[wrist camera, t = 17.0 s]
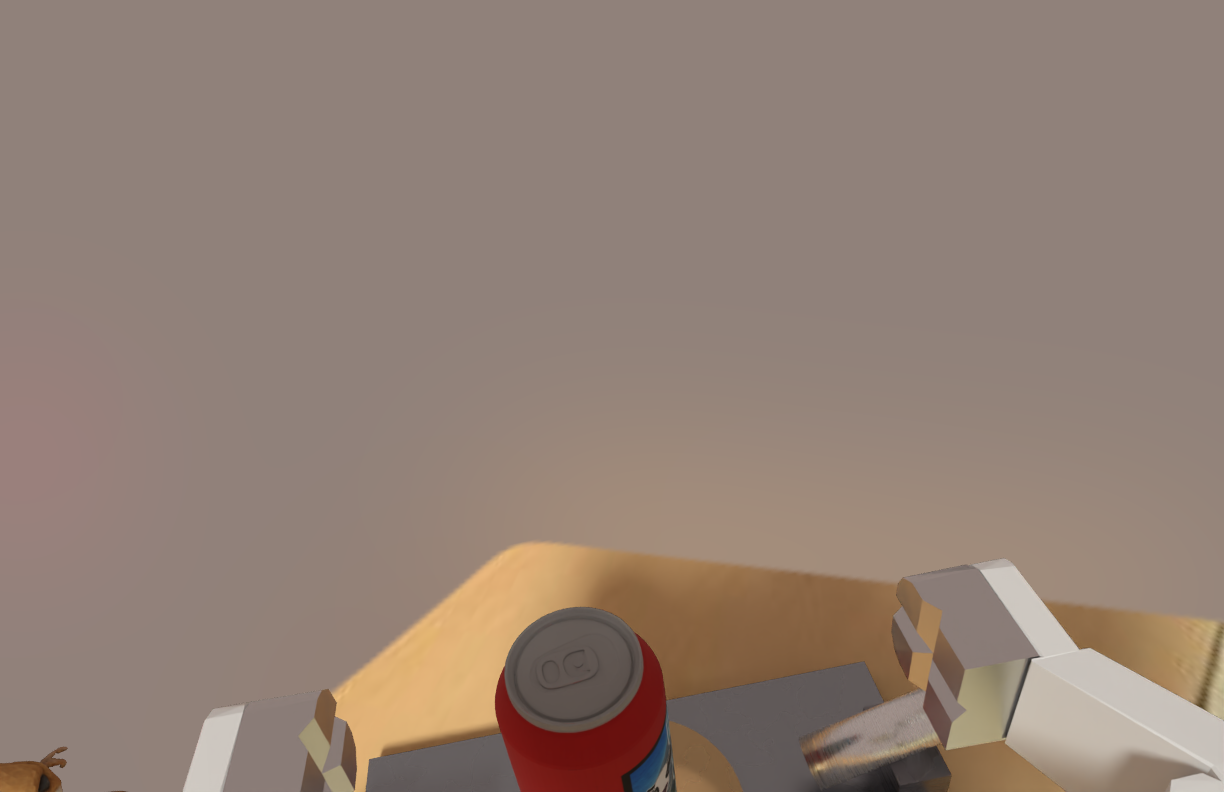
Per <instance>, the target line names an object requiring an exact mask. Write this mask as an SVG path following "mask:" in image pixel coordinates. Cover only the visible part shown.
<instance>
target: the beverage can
mask: <svg viewBox="0 0 1224 792" xmlns="http://www.w3.org/2000/svg"><path fill="white" fill-rule="evenodd" d="M495 711H496V717H497V721H498V724H499V727H500V731H501V734H502V737H503V740H504V743H505V746H506V749H507V753H508V756H509V759H510V762H511V765H512V768H513V771H514V774H515V777H516V780H517V783H518V786H519V788H520V791H521V792H677V789H676V779H675V770H674V761H673V752H672V743H671V735H670V727H669V719H668V710H667V703H666V696H665V689H664V682H663V675H662V670H661V667H660V664H659V662H658V660H657V657H656V656H655V654H654V652H653V651H652V649H651V648H650V647H649V646H648V644H647V643H646V642H645V641H644V640H643V639H642V638H641V637H640V636H639V635H637V634H636V633H635V632H633V630H632V629H631V628H630V627H629V626H628V625H627V624H626V623H625V622H624V621H623V620H622V619H620V618H619V617H617V616H615V615H613V614H612V613H609V612H607V611H604V610H601V609H596V608H590V607H573V608H566V609H562V610H558V611H555V612H552V613H550V614H547V615H545V616H543V617H541V618H540V619H538V620H536V621H535V622H533V623H532V624H531V625H530V626H528V627H527V628H526V629H525V630H524V631H523V632H522V633H521V634H520V635H519V637H518V638H517V639H516V641H515V642H514V643H513V645H512V647H511V649H510V651H509V653H508V656H507V659H506V663H505V666H504V668H503V671H502V673H501V675H500V678H499V681H498V685H497V689H496V695H495Z"/></svg>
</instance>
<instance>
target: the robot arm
mask: <svg viewBox="0 0 1224 792" xmlns="http://www.w3.org/2000/svg"><path fill="white" fill-rule="evenodd" d="M896 596H897V598H898V599H899V601H900V603H901V605H902V607H901V608H900V609H899V610H898V611H897V612H896V613H895V614H894V615H893V622H892V637H893V643H894V649H895V652H896V655H897V657H898V660H899V663H900V665H901V667H902V669H903V671H904V673H905V675H906V677H907V679H908V680H909V681H910V682H912V683H913V684H915V685H916V686H918V687H919V688H921V689H922V690H924V691H925V692H926V693H925V698H924V704H923V709H924V711H925V713H926V715H927V717H928V719H929V720H930V722H931V724H932V726H933V728H934V730H935V732H936V733H937V735H938V737H939V739H940V741H941V743H942V745H943V746H944V748H945V750H950V749H956V748H962V747H967V746H973V745H979V744H985V743H990V742H996V741H1002V740H1006V741H1005V744H1006V745H1008V746H1009V747H1010V748H1011V749H1013V750H1014V751H1015V752H1017V753H1018V754H1019V755H1020V756H1022V757H1023V758H1024V759H1025V760H1027V761H1028V762H1029V763H1031V764H1032V765H1033V766H1034V767H1036V768H1037V769H1038V770H1040V771H1041V772H1042V773H1043V774H1045V775H1046V776H1047V777H1048V778H1050V779H1051V780H1052V781H1054V782H1055V783H1056V784H1057V785H1059V786H1060V787H1061V788H1062V789H1064V790H1065V791H1066V792H1224V720H1222V719H1220V718H1218V717H1216V716H1215V715H1213V714H1211V713H1209V712H1207V711H1205V710H1203V709H1202V708H1200V707H1198V706H1196V705H1194V704H1192V703H1191V702H1189V701H1187V700H1185V699H1183V698H1181V697H1180V696H1178V695H1176V694H1174V693H1172V692H1170V691H1169V690H1167V689H1165V688H1163V687H1161V686H1159V685H1158V684H1156V683H1154V682H1152V681H1150V680H1148V679H1147V678H1145V677H1143V676H1141V675H1139V674H1137V673H1135V672H1134V671H1132V670H1130V669H1128V668H1126V667H1124V666H1123V665H1121V664H1119V663H1117V662H1115V661H1113V660H1112V659H1110V658H1108V657H1106V656H1104V655H1102V654H1101V653H1099V652H1097V651H1095V650H1093V649H1091V648H1085V649H1079V648H1078V647H1077V645H1076V644H1075V643H1074V641H1073V640H1072V639H1071V638H1070V636H1069V635H1068V634H1067V632H1066V631H1065V630H1064V629H1063V627H1062V626H1061V625H1060V623H1059V622H1058V621H1057V620H1056V618H1055V617H1054V616H1053V614H1052V613H1051V612H1050V611H1049V609H1048V608H1047V607H1046V605H1045V604H1044V603H1043V601H1042V600H1041V599H1040V598H1039V596H1038V595H1037V594H1036V593H1035V591H1034V590H1033V589H1032V587H1031V586H1030V585H1029V583H1028V582H1027V581H1026V580H1025V578H1024V577H1023V576H1022V574H1021V573H1020V572H1019V571H1018V569H1017V568H1016V567H1015V566H1014V564H1013V563H1012V562H1010V561H1009V560H1007V559H1005V558H1003V559H996V560H991V561H986V562H982V563H977V564H972V565H961V566H957V567H952V568H947V569H942V570H938V571H932V572H928V573H923V574H918V575H914V576H909V577H903V578H902V579H901V581H900V582H899V583H898V588H897V594H896ZM336 704H337V702H336V701H335V699H334V697H333V696H332V694H331V692H330V691H329V689H325V690H319V691H313V692H307V693H301V694H295V695H289V696H283V697H277V698H271V699H265V700H259V701H253V702H247V703H242V704H236V705H230V706H225V707H220V708H214V709H212V711H211V712H210V714H209V715H208V717H207V718H206V719H205V721H204V723H203V726H202V730H201V733H200V736H199V739H198V742H197V746H196V749H195V752H194V756H193V759H192V762H191V765H190V768H189V772H188V775H187V778H186V781H185V785H184V788H183V791H182V792H354V790H355V781H356V772H357V765H356V747H355V743H354V739H353V735H352V732H351V730H350V728H349V726H348V724H347V722H346V721H344V720H342V719H339V718H337V717H335V711H336Z"/></svg>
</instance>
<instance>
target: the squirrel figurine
mask: <svg viewBox="0 0 1224 792" xmlns="http://www.w3.org/2000/svg"><path fill="white" fill-rule="evenodd" d="M65 750H67V747H60V748H58V749H57V750H55V751H53V752H51V753H50V754H49V755H48V756H46V757H45V758H44V759H43V760H41V762H34V761H24V762H13V763H0V792H62V786H61V780H60V779H59V778H58V777H57V776H56V775H55V774H54V773H53V772H52V771H51V770H50V769H49V767H53V766H55V765H59V764H60V767H61V768H63V767H64V766H65V765H66V763H67V762H66V760H64V759H56V758H52V757H53V756H54V755H55V753H60V752H63V751H65ZM114 792H125V791H114Z"/></svg>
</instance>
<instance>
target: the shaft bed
mask: <svg viewBox="0 0 1224 792" xmlns="http://www.w3.org/2000/svg"><path fill="white" fill-rule="evenodd" d="M925 693H926V692H925V691H924V690H922V689H921V688H918V689H916V690H914V691H911V692H909V693H906V694H904V695H901V696H899V697H896V698H894V699H892V700H889V701H887V702H884V701H883V699H882V697H881V695H880V693H879V691H878V689H877V687H876V685H875V683H874V681H873V679H872V677H871V674H870V672H869V670H868V668H867V666H866V664H865V662H859V663H854V664H849V665H844V666H839V667H834V668H829V669H823V670H818V671H813V672H808V673H803V674H798V675H793V676H788V677H783V678H778V679H773V680H768V681H763V682H758V683H753V684H748V685H743V686H737V687H732V688H727V689H722V690H717V691H712V692H707V693H702V694H697V695H692V696H687V697H682V698H677V699H672V700H667V701H666V703H667V710H668V719H669V727H670V735H671V743H672V752H673V761H674V770H675V779H676V789H677V792H947V790H948V786H949V783H950V779H951V773H950V771H949V769H948V767H947V765H946V764H945V762H944V760H943V758H942V756H941V754H940V752H939V750H938V748H937V746H936V745H938V744H941V741H940V739H939V737H938V735H937V733H936V732H935V730H934V728H933V726H932V724H931V722H930V720H929V719H928V717H927V715H926V713H925V711H924V709H923V704H924V698H925ZM366 792H521V791H520V788H519V786H518V783H517V780H516V777H515V774H514V771H513V768H512V765H511V762H510V759H509V756H508V753H507V749H506V746H505V743H504V740H503V737H502V734H501V733H500V734H495V735H489V736H484V737H479V738H474V739H469V740H464V741H459V742H454V743H449V744H444V745H439V746H434V747H429V748H424V749H419V750H414V751H408V752H403V753H398V754H393V755H388V756H383V757H378V758H373V759H369V767H368V776H367V785H366Z"/></svg>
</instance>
